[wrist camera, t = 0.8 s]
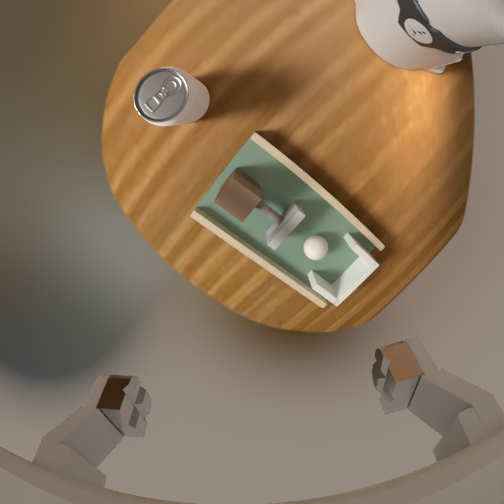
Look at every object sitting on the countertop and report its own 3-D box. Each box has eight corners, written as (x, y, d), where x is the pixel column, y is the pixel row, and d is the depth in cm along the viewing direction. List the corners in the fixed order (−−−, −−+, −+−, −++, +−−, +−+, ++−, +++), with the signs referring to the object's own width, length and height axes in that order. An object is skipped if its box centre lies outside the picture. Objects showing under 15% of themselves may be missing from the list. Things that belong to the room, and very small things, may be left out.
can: (220, 101, 34) (207, 94, 23) (184, 133, 36) (157, 140, 25) (189, 69, 32) (164, 51, 21) (154, 101, 34) (117, 98, 23)
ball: (312, 227, 41) (318, 236, 38) (329, 240, 42) (335, 251, 39) (296, 244, 42) (300, 255, 39) (313, 257, 43) (318, 269, 40)
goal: (347, 232, 41) (356, 243, 38) (369, 253, 43) (379, 265, 39) (307, 274, 44) (312, 288, 41) (331, 291, 46) (336, 306, 42)
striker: (241, 159, 37) (239, 168, 30) (300, 205, 39) (309, 223, 33) (214, 194, 39) (207, 210, 32) (272, 236, 41) (276, 259, 35)
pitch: (254, 131, 36) (255, 132, 33) (377, 238, 43) (385, 246, 40) (194, 209, 41) (190, 216, 38) (319, 297, 48) (322, 308, 45)
